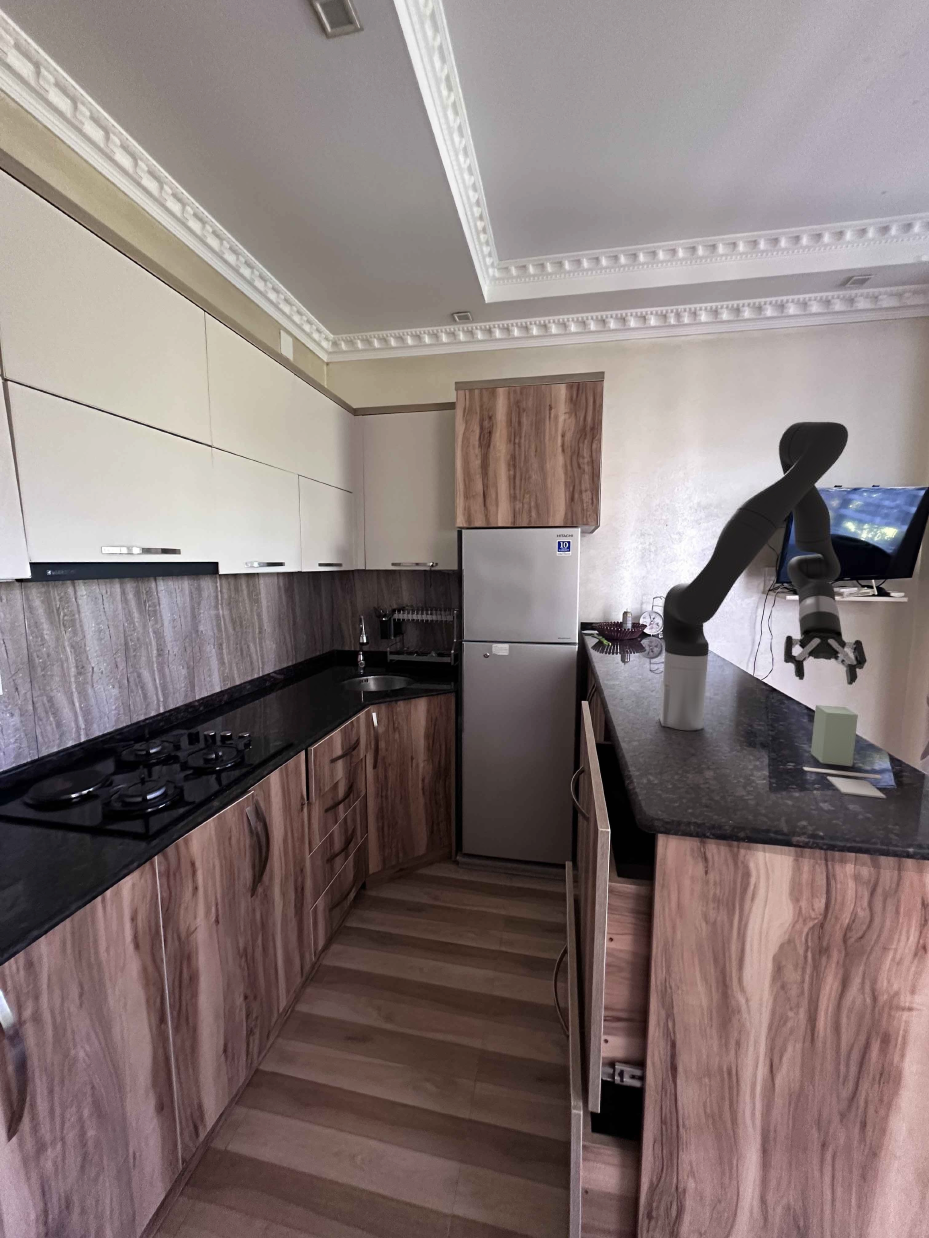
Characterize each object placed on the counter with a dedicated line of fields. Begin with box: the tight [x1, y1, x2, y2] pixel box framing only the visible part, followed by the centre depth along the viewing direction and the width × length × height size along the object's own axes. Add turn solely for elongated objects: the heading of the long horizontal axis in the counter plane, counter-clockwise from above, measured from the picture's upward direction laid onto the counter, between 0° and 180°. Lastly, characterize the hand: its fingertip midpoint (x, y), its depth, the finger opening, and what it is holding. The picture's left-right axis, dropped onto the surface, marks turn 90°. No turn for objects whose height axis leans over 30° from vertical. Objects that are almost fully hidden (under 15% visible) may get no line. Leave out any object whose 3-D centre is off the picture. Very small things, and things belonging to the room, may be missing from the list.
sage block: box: [810, 704, 859, 767], centre depth 95 cm, size 5×5×10 cm
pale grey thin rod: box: [802, 766, 884, 780], centre depth 89 cm, size 12×1×1 cm, turn 74°
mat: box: [826, 776, 887, 799], centre depth 83 cm, size 6×6×1 cm
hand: (826, 680), depth 103 cm, fingers open, 8 cm apart
